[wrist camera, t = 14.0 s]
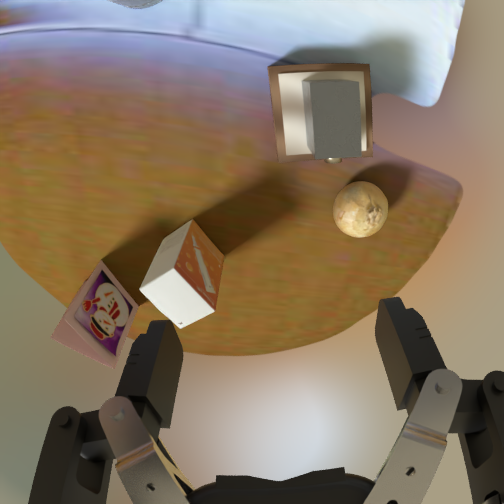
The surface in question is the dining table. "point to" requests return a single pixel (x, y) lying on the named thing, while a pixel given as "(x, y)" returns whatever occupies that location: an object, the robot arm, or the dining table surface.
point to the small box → (185, 275)
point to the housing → (332, 119)
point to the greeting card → (98, 318)
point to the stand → (292, 106)
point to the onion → (360, 209)
